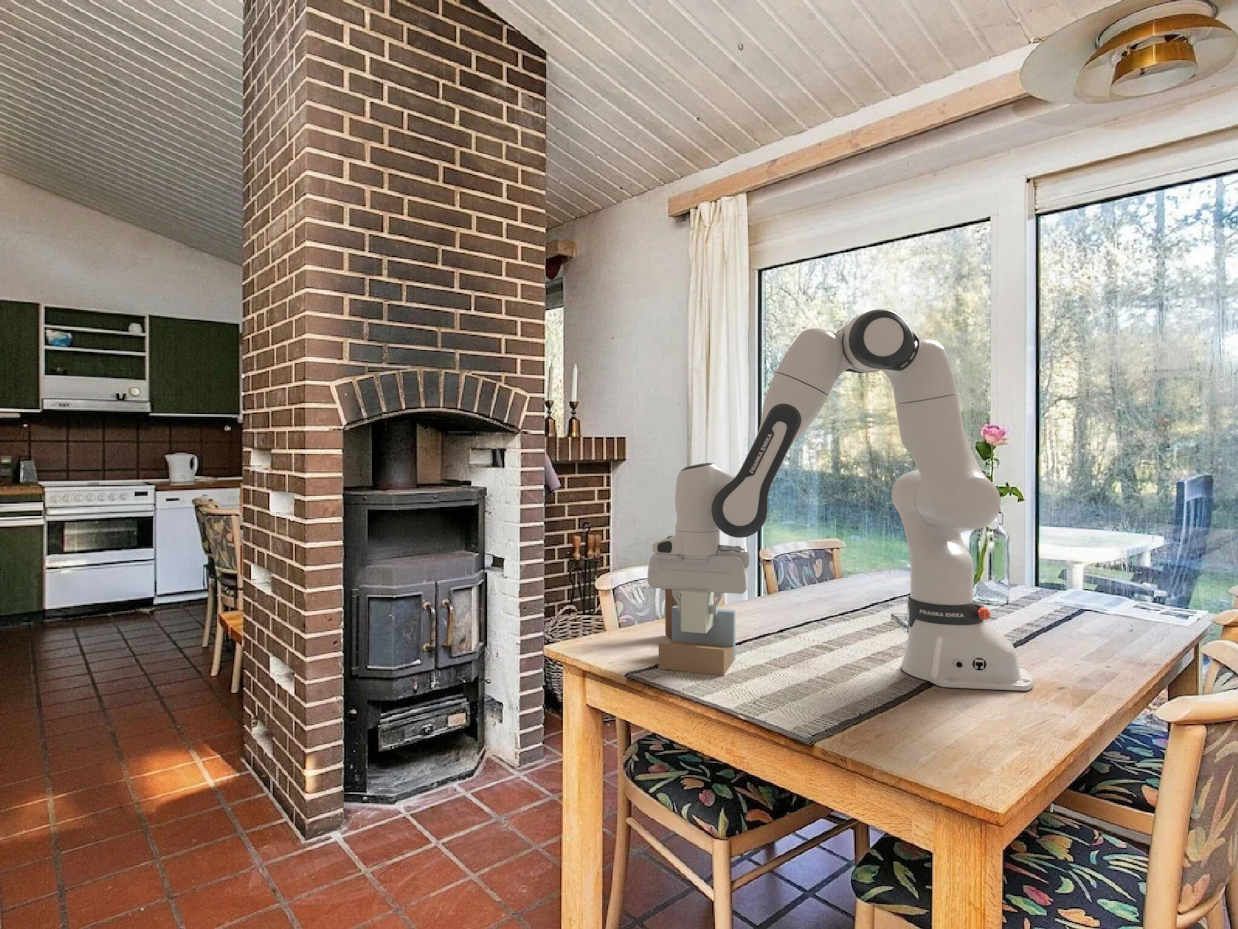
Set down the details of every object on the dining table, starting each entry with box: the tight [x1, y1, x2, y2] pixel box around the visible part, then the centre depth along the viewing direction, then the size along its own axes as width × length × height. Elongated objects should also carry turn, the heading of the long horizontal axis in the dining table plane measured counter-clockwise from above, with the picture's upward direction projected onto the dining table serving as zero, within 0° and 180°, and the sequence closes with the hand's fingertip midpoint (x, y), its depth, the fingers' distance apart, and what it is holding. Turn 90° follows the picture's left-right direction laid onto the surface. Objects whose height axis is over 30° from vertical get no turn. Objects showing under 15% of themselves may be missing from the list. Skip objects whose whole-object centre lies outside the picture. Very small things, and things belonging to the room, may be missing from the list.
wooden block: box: [664, 589, 682, 640], centre depth 162 cm, size 9×4×18 cm, turn 21°
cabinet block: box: [681, 589, 715, 633], centre depth 145 cm, size 5×7×9 cm
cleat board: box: [658, 606, 736, 677], centre depth 145 cm, size 13×12×10 cm
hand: (697, 612), depth 145 cm, fingers closed on cabinet block, 5 cm apart
